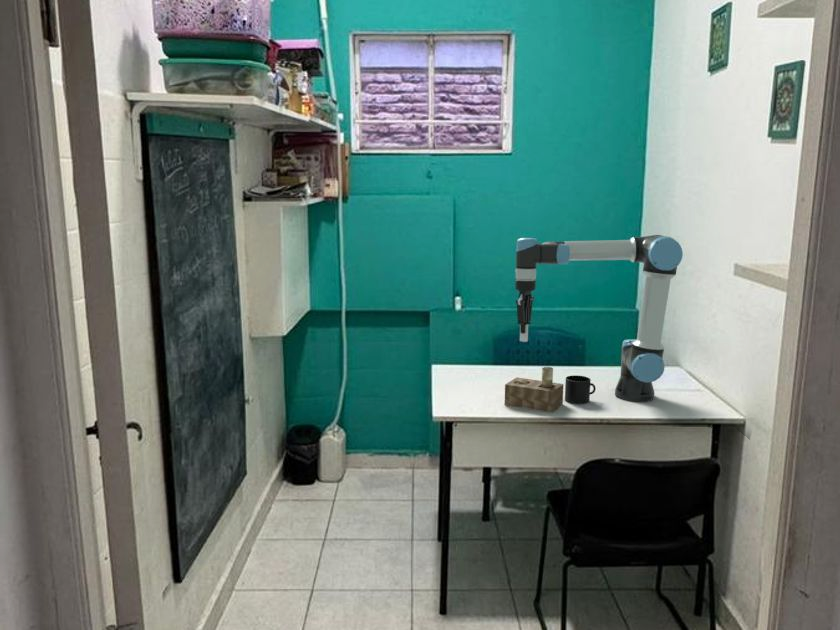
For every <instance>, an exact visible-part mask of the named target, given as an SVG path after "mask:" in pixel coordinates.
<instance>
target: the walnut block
mask: <svg viewBox="0 0 840 630" xmlns="http://www.w3.org/2000/svg"><path fill="white" fill-rule="evenodd" d="M517 380H527V385H522V384H517ZM563 401H564V383H558V382H553V383H552V389H549V388H542V380H538V379H537V380H536V379H531V378H530V379H529V378H523V377H518V376H517V377H515V378H514V379H512V380H510V381H508V382H507V383H505V384H504V405H505V406H509V407H510V406H511V407H517V408H522V409H529V410H535V411H542V412H546V413H554V412H555V411H556V410H557V409H559V408H560V407H561V406H562V405H564V404H563V403H564V402H563Z"/></svg>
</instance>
